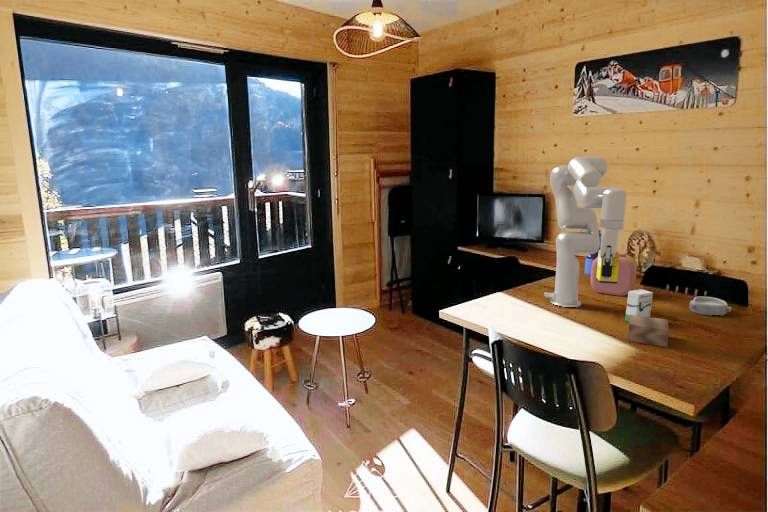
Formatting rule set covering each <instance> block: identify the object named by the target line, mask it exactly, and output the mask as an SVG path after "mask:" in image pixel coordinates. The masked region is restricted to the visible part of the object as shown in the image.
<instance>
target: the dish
mask: <svg viewBox="0 0 768 512" xmlns="http://www.w3.org/2000/svg"><path fill="white" fill-rule="evenodd" d="M688 306H689V310H690V311H691V312H693V313H695V314H698V315H704V316H712V315H716V316H715V317H717V315H720V316H726V315H727V313H730V312H731V311H733V310H732V307H731V306H729V305H728V303H727V302H726V301H725V300H723V299H720V298H717V297H713V296H695V297H693V300H692V299H690V302H689V303H688ZM725 314H726V315H725Z"/></svg>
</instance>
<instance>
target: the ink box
mask: <svg viewBox="0 0 768 512" xmlns="http://www.w3.org/2000/svg"><path fill="white" fill-rule="evenodd" d="M653 294H654V293H653V292H652V291H650V290H649V291H648V290H645V289H634V290H633V289H632V291H629V292H628V294H627V301H626V310H625V317H624V321H626V322H627V323H629V316H630V315H635V316H643V317H651V310H652V303H653Z"/></svg>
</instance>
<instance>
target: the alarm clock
mask: <svg viewBox="0 0 768 512" xmlns="http://www.w3.org/2000/svg"><path fill="white" fill-rule="evenodd" d="M617 252H618V253H619V254H620V259H619V268H618V279H617V284H611V283H599V282H598V281H597V280H596V275H597V264H598V257H597V258H596V259H595V260H594V261H593V263H592V267H591V276H590V280H589V281H590V286H591V288H592V289H593V290H594V292H596V293H599V294H602V293H603V294H602V295H611V296H619V297H623V296H625V297H626V296H628V292H629V291H633V289H634V287H635V285H636V282H637V281H636V280H637V273H638V266H637V261H636V260H635V257H632V256H631V255H628V254H627V253H626V252H620V251H617Z"/></svg>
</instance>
